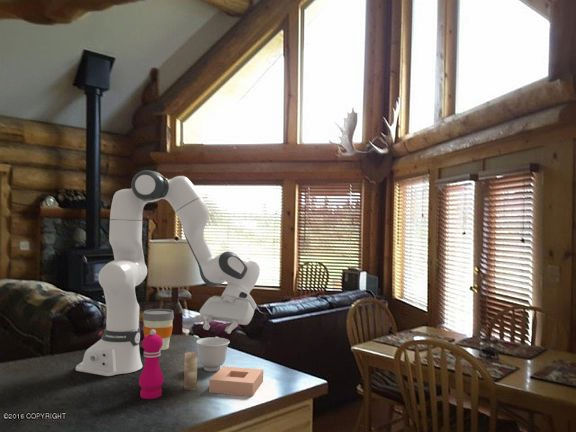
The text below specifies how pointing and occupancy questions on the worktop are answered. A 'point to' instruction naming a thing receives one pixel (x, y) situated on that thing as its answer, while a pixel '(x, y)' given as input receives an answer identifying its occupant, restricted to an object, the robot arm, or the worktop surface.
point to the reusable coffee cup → (159, 324)
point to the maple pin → (190, 371)
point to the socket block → (236, 381)
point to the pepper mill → (151, 367)
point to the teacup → (212, 352)
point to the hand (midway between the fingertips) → (216, 330)
